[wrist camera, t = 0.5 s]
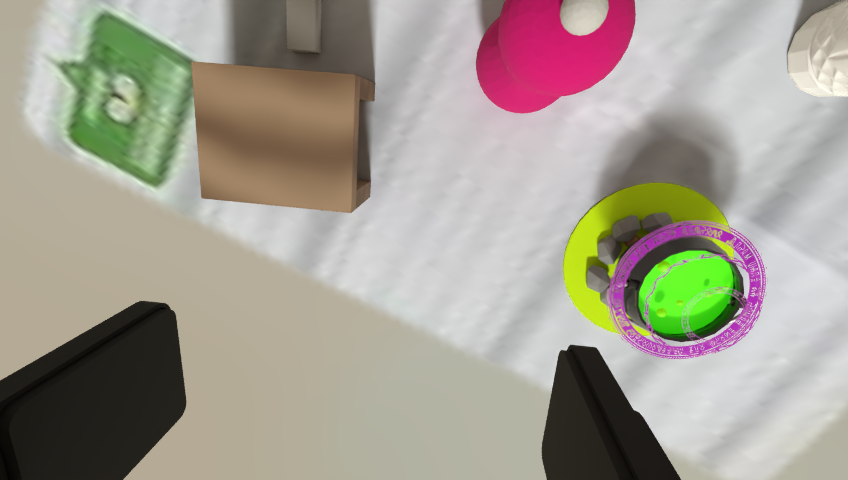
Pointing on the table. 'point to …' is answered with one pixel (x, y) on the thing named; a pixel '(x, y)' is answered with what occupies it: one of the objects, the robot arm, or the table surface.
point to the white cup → (822, 53)
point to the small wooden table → (279, 136)
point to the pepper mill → (551, 49)
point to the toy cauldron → (661, 269)
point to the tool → (303, 26)
